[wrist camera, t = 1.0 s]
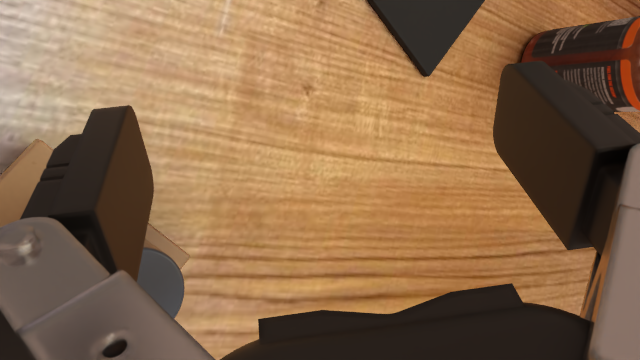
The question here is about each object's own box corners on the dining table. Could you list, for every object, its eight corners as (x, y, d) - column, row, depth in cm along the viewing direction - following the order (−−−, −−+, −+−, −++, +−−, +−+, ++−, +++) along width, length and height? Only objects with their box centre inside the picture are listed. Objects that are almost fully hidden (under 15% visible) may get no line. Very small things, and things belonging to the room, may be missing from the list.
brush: (-38, 209, 22) (-45, 276, 13) (33, 136, 24) (70, 151, 14) (118, 311, 26) (194, 417, 17) (172, 244, 27) (272, 310, 18)
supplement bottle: (545, 128, 42) (715, 132, 32) (503, 81, 39) (676, 71, 29) (576, 63, 43) (748, 49, 33) (537, 13, 40) (715, -18, 30)
